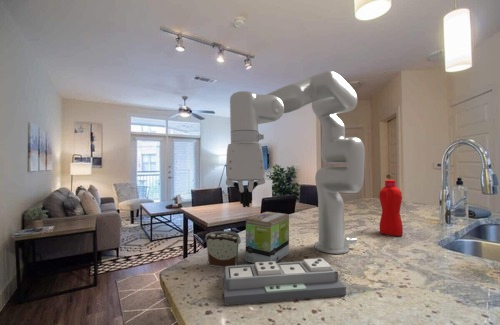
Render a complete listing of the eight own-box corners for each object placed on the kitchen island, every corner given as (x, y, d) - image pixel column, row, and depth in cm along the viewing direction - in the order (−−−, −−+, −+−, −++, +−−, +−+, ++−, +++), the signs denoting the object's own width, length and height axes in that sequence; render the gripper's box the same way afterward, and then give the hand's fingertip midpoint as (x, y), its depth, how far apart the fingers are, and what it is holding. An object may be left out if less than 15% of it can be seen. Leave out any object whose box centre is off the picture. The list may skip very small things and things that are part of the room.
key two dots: (250, 274, 66) (250, 266, 66) (253, 284, 61) (253, 275, 61) (229, 276, 66) (229, 267, 66) (231, 286, 60) (230, 277, 60)
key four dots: (274, 268, 67) (274, 260, 67) (279, 277, 62) (279, 269, 62) (255, 270, 67) (255, 261, 67) (258, 279, 61) (258, 270, 61)
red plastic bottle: (402, 231, 115) (402, 179, 115) (402, 237, 106) (401, 180, 106) (380, 229, 120) (380, 179, 120) (379, 234, 111) (378, 180, 111)
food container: (246, 262, 81) (246, 232, 81) (239, 269, 75) (239, 237, 75) (213, 257, 85) (213, 229, 85) (204, 264, 79) (204, 234, 79)
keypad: (321, 270, 74) (321, 255, 74) (345, 295, 60) (345, 276, 60) (223, 277, 70) (223, 261, 70) (224, 305, 56) (224, 285, 56)
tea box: (271, 268, 76) (270, 221, 76) (244, 261, 81) (244, 218, 81) (289, 253, 88) (289, 213, 88) (265, 248, 94) (265, 210, 94)
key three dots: (322, 265, 69) (322, 257, 69) (331, 274, 64) (331, 265, 64) (303, 266, 68) (303, 258, 69) (311, 275, 63) (311, 266, 63)
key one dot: (298, 271, 68) (298, 263, 68) (306, 280, 63) (305, 271, 63) (279, 272, 68) (279, 264, 68) (285, 282, 62) (285, 273, 62)
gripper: (268, 140, 70) (269, 203, 70) (216, 140, 68) (218, 205, 68) (274, 137, 63) (276, 207, 62) (216, 137, 61) (218, 210, 60)
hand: (245, 206), depth 65 cm, fingers closed
